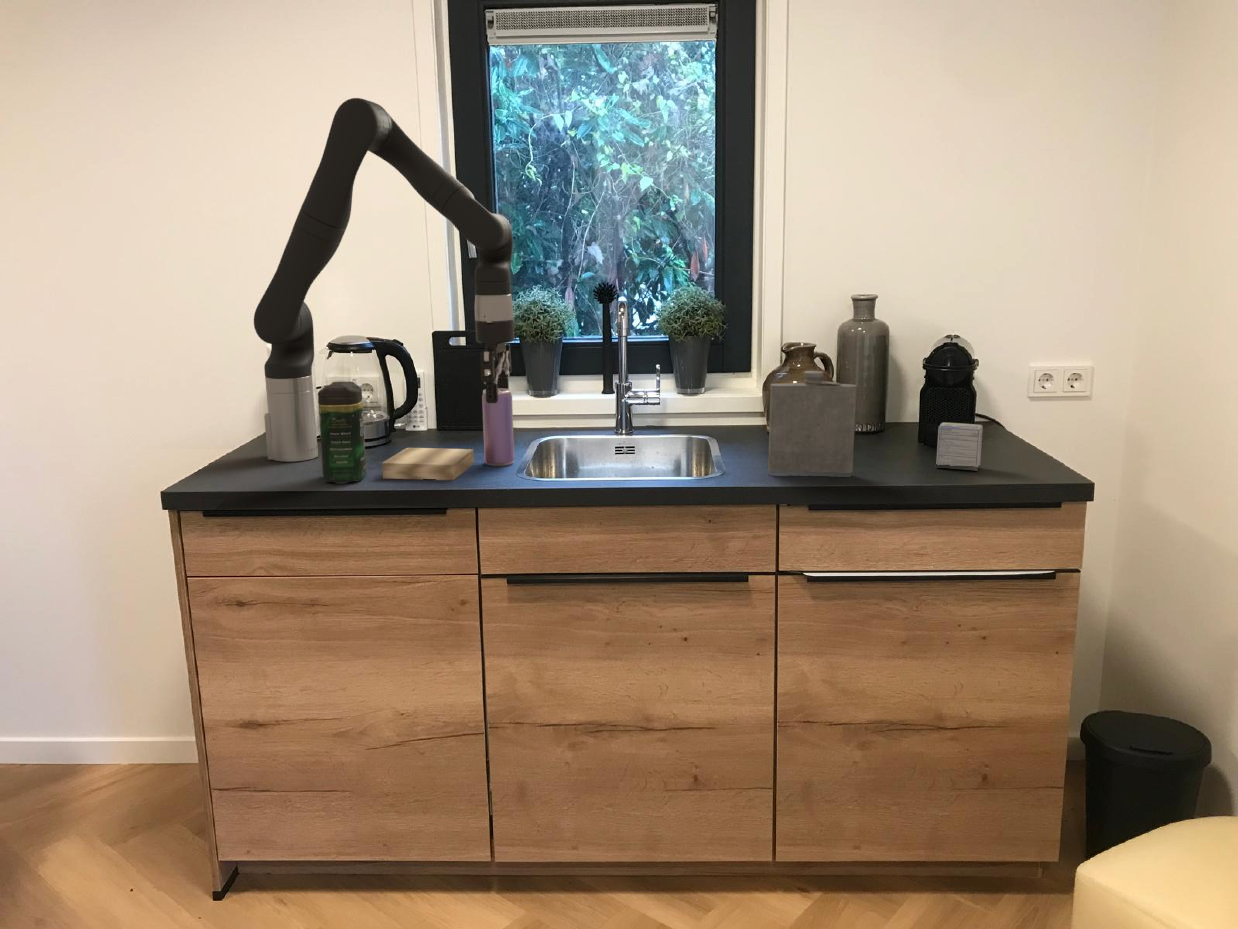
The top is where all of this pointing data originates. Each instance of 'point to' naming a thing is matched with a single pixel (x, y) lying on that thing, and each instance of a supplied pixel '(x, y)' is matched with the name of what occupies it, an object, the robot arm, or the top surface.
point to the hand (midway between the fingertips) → (497, 399)
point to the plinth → (428, 463)
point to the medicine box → (959, 444)
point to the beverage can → (498, 429)
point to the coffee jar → (342, 432)
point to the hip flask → (811, 426)
